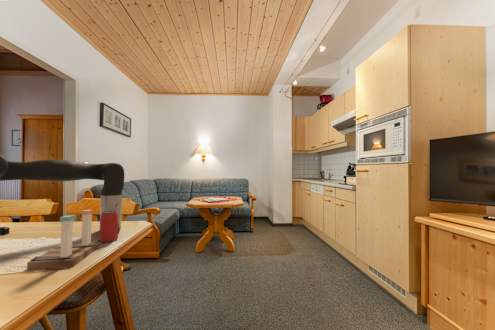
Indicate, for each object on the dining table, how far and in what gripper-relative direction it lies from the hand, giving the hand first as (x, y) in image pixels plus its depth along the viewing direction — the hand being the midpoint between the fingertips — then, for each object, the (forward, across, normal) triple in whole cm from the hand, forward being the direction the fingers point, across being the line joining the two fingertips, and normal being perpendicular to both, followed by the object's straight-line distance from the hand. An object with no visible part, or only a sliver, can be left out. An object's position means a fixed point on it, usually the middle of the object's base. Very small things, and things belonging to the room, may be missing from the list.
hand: (7, 231), depth 72 cm
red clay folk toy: (+17, +34, +12) cm, 40 cm away
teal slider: (+16, 0, +9) cm, 18 cm away
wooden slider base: (+13, +6, +11) cm, 18 cm away
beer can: (+19, +26, +12) cm, 34 cm away
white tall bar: (+16, +12, +9) cm, 22 cm away
